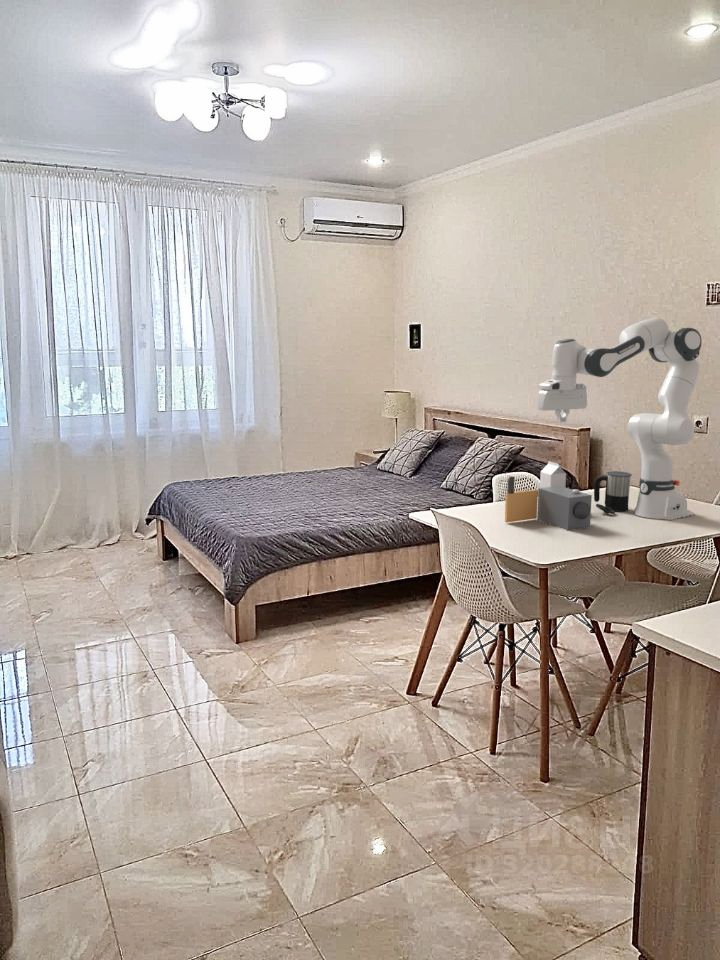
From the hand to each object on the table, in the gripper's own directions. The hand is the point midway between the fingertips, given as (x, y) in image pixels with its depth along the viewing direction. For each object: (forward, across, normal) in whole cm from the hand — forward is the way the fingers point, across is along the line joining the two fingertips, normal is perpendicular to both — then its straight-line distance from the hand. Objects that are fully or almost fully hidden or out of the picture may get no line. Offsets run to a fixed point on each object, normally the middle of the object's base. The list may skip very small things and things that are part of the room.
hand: (561, 421), depth 282 cm
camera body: (+37, +2, +6) cm, 38 cm away
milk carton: (+37, -8, -14) cm, 41 cm away
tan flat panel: (+37, +15, -3) cm, 39 cm away
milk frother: (+37, -28, -1) cm, 47 cm away
